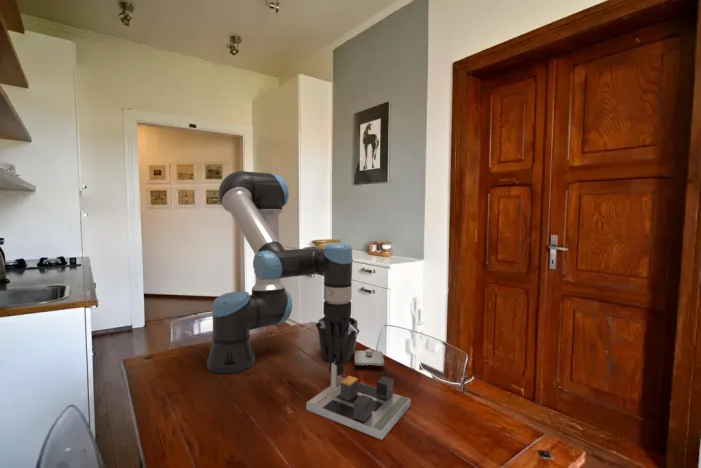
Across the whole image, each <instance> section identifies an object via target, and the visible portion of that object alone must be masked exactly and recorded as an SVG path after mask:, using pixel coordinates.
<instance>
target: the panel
mask: <svg viewBox="0 0 701 468" xmlns="http://www.w3.org/2000/svg"><path fill="white" fill-rule="evenodd" d="M345 378H346V377H343V376H341V381H342V380H344V379H345ZM340 392H341V384H340V385H339V386H338V387H336V388H334V387H331V384H330V385H329V386H327V387H326V388H325V389H323V390H322V391H320V392H319V393H317V394H316V395H315V396H313V397H312V398H310V399H309V400H308V401H306V402H305V403H306V405H305V406H306V409H305V410H306V411H308V412H311V413H314V414H315V415H316V414H317V415H319V416H321V417H323V418H326V419H328V420H330V421H333V422H336V423H338V424H340V425H344V426H346V427H347V428H348V427H349V428H351V429H353V430H355V431H359V432H361V433H363V434H366V435H368V436H371V437H374V438H375V439H378V440H381V441H382V440H384V438H386V436H387V435H388V433H389V432H391V430H392V429H393V427H394V426H395V425H396V424H397V423H398V421H399V420H400V419H401V418H402V417H403V416H404V414H405V413H406V412H407V411H408V410H409V409H410V407H411V400H412V399H411V398H409V397H406V396H403V395H399V394H397V393H396V394H395V393H394V378H390V377H387V376H382V377H381V378H380V379H379V380H377V381H376V387H375V386H371V385H367V384H365V383H363V382H359V381H358V395H356V396H355V397H354V398H353V399H352V400H350V401H349V400H346V399H343V398H340Z"/></svg>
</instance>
